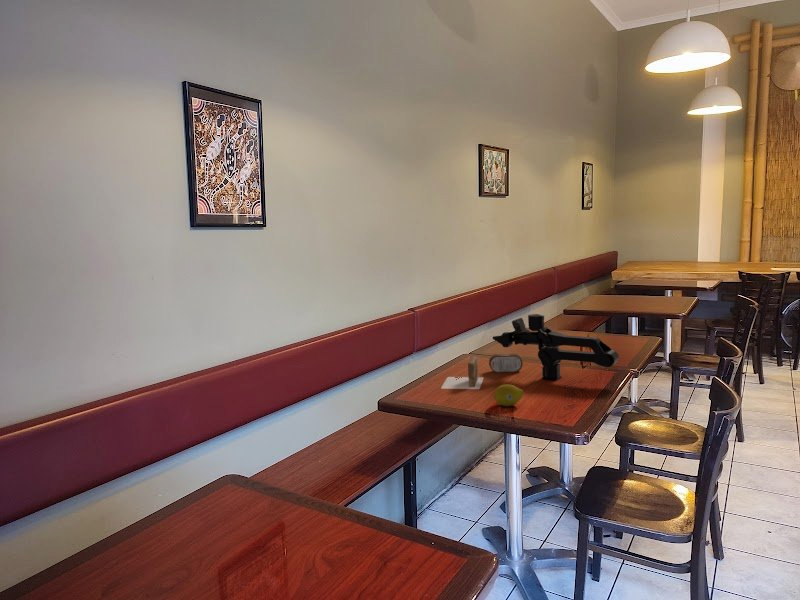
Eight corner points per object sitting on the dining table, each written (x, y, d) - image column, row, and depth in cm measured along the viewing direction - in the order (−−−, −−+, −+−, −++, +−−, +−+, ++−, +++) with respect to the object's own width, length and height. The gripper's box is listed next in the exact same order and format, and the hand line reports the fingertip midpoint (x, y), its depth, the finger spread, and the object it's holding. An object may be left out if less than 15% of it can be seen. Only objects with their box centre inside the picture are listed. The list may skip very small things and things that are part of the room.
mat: (483, 378, 253) (483, 377, 253) (479, 389, 236) (479, 389, 236) (447, 377, 257) (447, 376, 257) (440, 389, 240) (440, 388, 240)
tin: (522, 370, 262) (522, 352, 261) (523, 372, 259) (522, 354, 258) (489, 371, 264) (488, 353, 263) (489, 373, 260) (488, 355, 259)
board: (477, 379, 251) (477, 356, 250) (474, 386, 239) (473, 363, 238) (472, 379, 252) (471, 356, 250) (468, 386, 240) (467, 363, 239)
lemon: (492, 408, 212) (491, 387, 211) (495, 401, 219) (494, 381, 218) (522, 409, 209) (521, 388, 208) (524, 403, 216) (523, 382, 215)
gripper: (538, 316, 258) (506, 315, 267) (519, 322, 243) (486, 321, 253) (539, 341, 259) (507, 339, 268) (520, 348, 244) (487, 346, 254)
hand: (497, 336), depth 261 cm, fingers open, 9 cm apart
